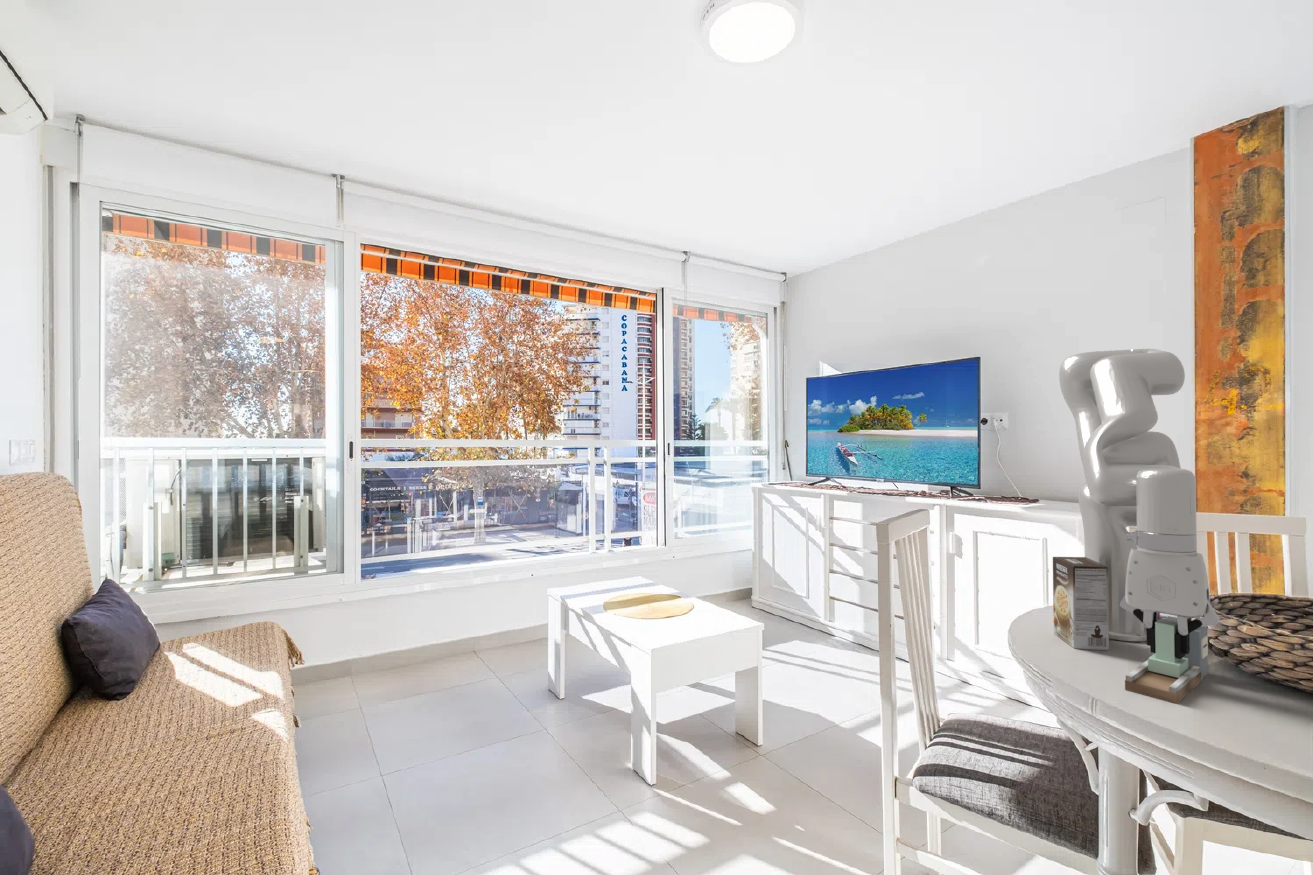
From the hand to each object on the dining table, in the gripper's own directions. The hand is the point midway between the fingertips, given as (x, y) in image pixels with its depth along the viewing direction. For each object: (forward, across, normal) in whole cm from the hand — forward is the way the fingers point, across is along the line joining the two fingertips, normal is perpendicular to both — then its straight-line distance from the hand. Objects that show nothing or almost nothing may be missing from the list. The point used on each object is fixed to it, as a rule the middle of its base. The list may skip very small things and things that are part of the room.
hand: (1167, 653), depth 98 cm
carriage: (+3, 0, 0) cm, 3 cm away
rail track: (+5, 0, -2) cm, 5 cm away
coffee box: (+5, -16, +11) cm, 20 cm away
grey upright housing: (+5, 0, +7) cm, 8 cm away
